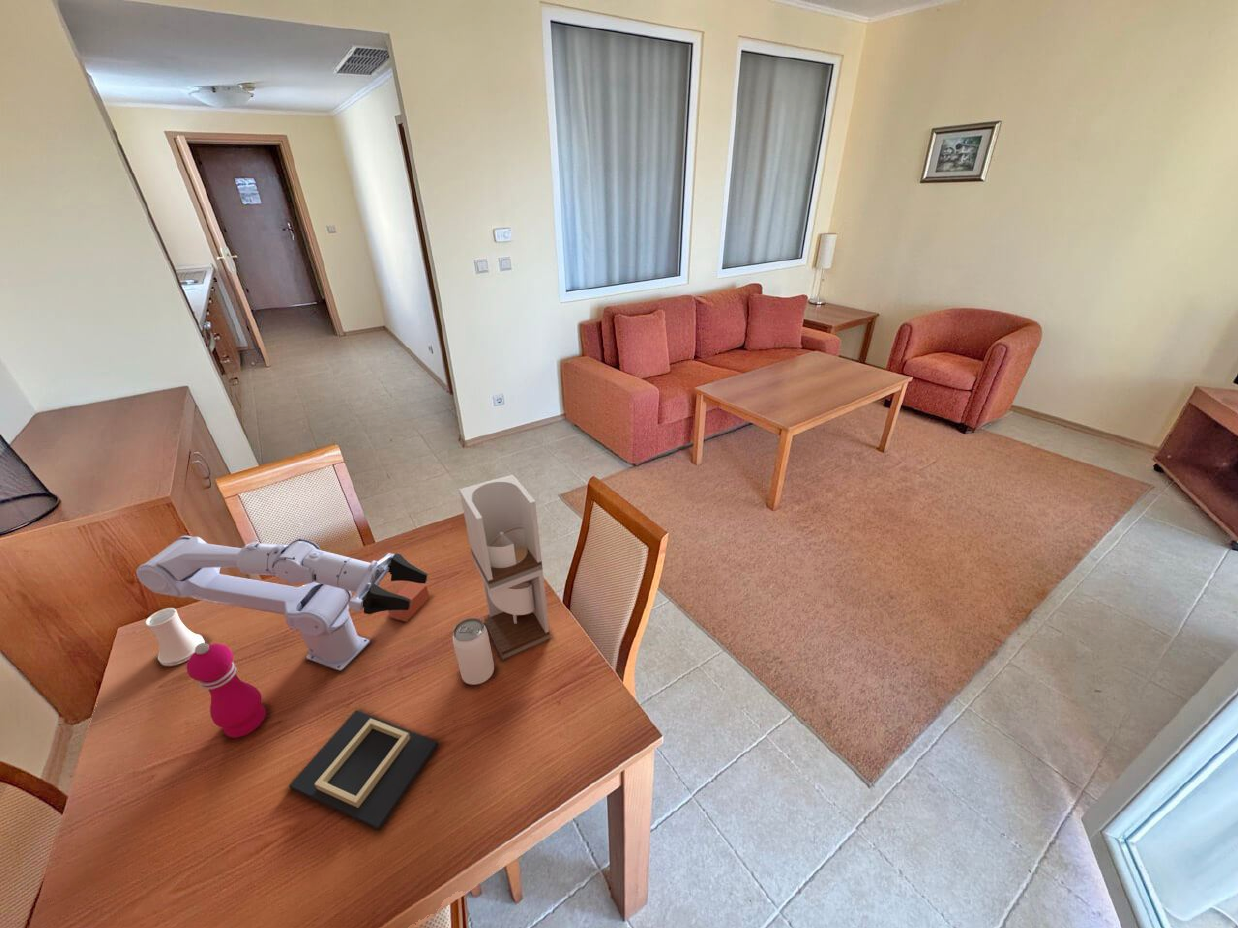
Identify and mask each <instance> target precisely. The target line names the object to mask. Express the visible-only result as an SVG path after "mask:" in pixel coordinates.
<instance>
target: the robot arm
mask: <svg viewBox="0 0 1238 928" xmlns="http://www.w3.org/2000/svg"><path fill="white" fill-rule="evenodd" d="M221 568H238V570H239V571H240V572H241V573H242V574H245V575H257V576H258V575H260V576H277V578H279V579H280V580H282V581H284V582H286V584H280V583H274V582H270V581H263V580H257V579H251V578H246V577H240V576H234V575H228V574H221V573H220V571H221ZM135 572H136V577H137V579H138V580H139V582H140V583H141V584H142V585H143V586H144V587H146V588H147V589H148V590H150V591H151V592H153V593H154V594H159V595H165V596H171V597H176V598H181V599H182V598H183V599H185V598H191V599H195V600H198V601H202V602H207V603H213V604H219V605H226V606H230V607H237V608H243V609H249V610H255V611H261V612H265V613H266V612H267V613H273V614H277V615H284V618H285V621H286V624H287V626H288V628H289V629H291V630H296V631H299V632H300V635H301V637H302V639H303V642H304V644H305V647H306V648H307V651H308V652H309V653H308V654H307V655H306V656H305V658H306V659H307V660H308V661H312V662H314V663H317V664H319V665H323V666H325V667H328V668H331V669H334V670H337V671H343V670H344V669H345V668H346V667H347V666H348V665H349V664H350V663H351V662H352V661H353V660H354V659H355V658H356V657H357V656H358V655H359V654H360V653H361V652H362V651H363V650H364V649H365V648H366V647H367V646H368V645H369V644H370V643H371V640H370V639H368V638H365V637H362V636H359V635H358V633H357V630H356V627H355V624H354V622H353V620H352V617H351V614H350V611H349V610H351V611H355V612H359V613H360V612H361V611H362V609H363V613H364V614H365V615H371V614H372V615H373V614H375V613H380V612H386V611H387V612H388V610H409V608H410V602H411V599H409V598H407V597H404V596H400V595H397V593H394V592H391V591H388V590H386V589H384V588H382V587H380V586H379V585H380V583H381V582H382V581H383V579H385V577H386V576H387V574H388V573H389V575H390V582H398V581H399V582H400V581H402V582H410V581H411V582H416V583H420V584H424V585H426V583H427V581H428V573H427V572H425V571H423V570H422V569H420V568H419V567H416V566H415V565H413V564H411V563H410V561H408V560H407V559H406V558H405V557H404V556H403V555H402V554H400V553H397V552H396V553H391V552H387V554H385V556H384V557H382V558H380V559H379V560H375V559H373V560H372V561H371V562H369V561H364V560H361V559H357V558H352V557H350V556H346V555H341V554H337V553H332V552H330V551H325V550H322V549H321V547H320V546H319V545H318V544H317V543H315V542H314V541H312V540H310V539H305V538H296V539H294V540H293V541H292V542H287V543H286V544H278V543H263V542H262V543H260V542H258V541H252V542H250V543H247V544H246V545H244V546H243V547H234V546H227V545H220V544H212V543H207V541H205V540H204V539H203V538H202V537H199V536H191V535H181V536H179V537H178V538H176V540H175V541H173V542H172V543H171V544H169V545H168V546H167V547H165V548H163V550H161V551H160V552H159V553H157V554H156V555H154V556H153V557H152V558H150V559H149V560H148V561H146V562H145V563H143V564H140V565H139V566H138V567H137V568H136V571H135ZM301 583H305V584H303V585H300V586H292V585H298V584H301ZM288 584H289V585H288ZM352 592H353V593H354V594H353V593H352Z"/></svg>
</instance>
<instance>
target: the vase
mask: <svg viewBox="0 0 1238 928" xmlns="http://www.w3.org/2000/svg"><path fill="white" fill-rule="evenodd" d="M145 625H146V626H147V627H148V629H150V630H151V632H152V633H153V634H154V637H155V638H156V640H157V643H158V648H159V651H158V654H157V661H159V663H160V665H162V666H165V667H173V666H178V665H180V664H183V663H185V662H188V660H189V658H190V657H191V656H192V655H193V654H194V653H195V648H196V646H197V645H199V644H201V643H206V641H205V639H204V637H203V635H202V634H199V633H195V632H193V631H192V630H190V629H189V628H188V627H187V626H185V624H184V623H183V621H182V620H181V619H180V617H179V614H178V611H177V609H176V608H174V607H167V608H163V609H160V610H157V611H156V612H154V613H152V614H151V615H149V616H148V618H146V620H145Z"/></svg>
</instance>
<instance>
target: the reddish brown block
mask: <svg viewBox="0 0 1238 928" xmlns="http://www.w3.org/2000/svg"><path fill="white" fill-rule="evenodd" d="M427 586H428V585H426V584H424V583H416V582H411V581H408V583H406V584H405V585H404V586H403V587H402V588H401V589H400V590H399V591H398V592H397V593H396V594H397V595H400V596H404V597H407V598H409V599H411V602H410V608H409V610H387V612H388V615H389V618H392V619H395V620H398V621H401V622H405V623H407V622H408V621H409V620H410V619H411V618H412V617H413V616H414V615H415V614H416V613H417V612H418V611H419V610H420V609H421V608H422V606H424V605H425V604H426V602H427V601H428V600H430V593H429V590H428V587H427Z"/></svg>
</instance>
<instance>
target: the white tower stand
mask: <svg viewBox="0 0 1238 928" xmlns="http://www.w3.org/2000/svg"><path fill="white" fill-rule="evenodd" d="M458 491H459V495H460V500H461V505H462V510H463V516H464V521H465V526H466V531H467V537H468V541H469V547H470V552H471V557H472V561H473V563H474V565H475V567H476V570H477V571H478V573H479V575H480V577H481V579H482V582H483V589H484V593H485V599H486V604H487V609H488V614H486V615H484V617H483V618H484V622H485V626H486V628H487V631H489V632H488V633H489V634H490V636H491V638H492V640H493V642H494V644H495V647H496V649H497V650H498V651H497V652H498V653H499V656H500V657H501V659H502V660H505V659H507V658H509V657H511V656H513V655H516V654H518V653H521V652H523V651H525V650H527V649H529V648H531V647H534V646H536V645H538V644H541V643H542V642H545V641H547V640H550V639H551V632H550V624H549V623H550V622H549V614H548V606H547V605H548V604H547V596H546V586H545V578H544V570H543V569H544V567H543V560H542V552H541V551H542V550H541V543H540V542H541V541H540V533H539V524H538V515H537V507H536V500H535V499H534V498H533V497H532V496H531V494H530V493H529V492H528V491H527V489H526V488H525V487H524V485H522V483H521V482H520V481H519V480H518V479H517V477H516V476H515V475H514V474H510V475H509V474H508V475H506V476H502V477H498V478H495V479H491V480H487V481H484V482H481V483H477V484H473V485H470V486H466V487H463V488H459V490H458Z"/></svg>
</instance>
